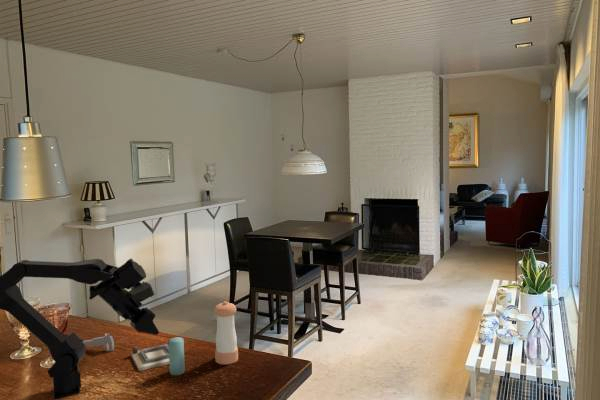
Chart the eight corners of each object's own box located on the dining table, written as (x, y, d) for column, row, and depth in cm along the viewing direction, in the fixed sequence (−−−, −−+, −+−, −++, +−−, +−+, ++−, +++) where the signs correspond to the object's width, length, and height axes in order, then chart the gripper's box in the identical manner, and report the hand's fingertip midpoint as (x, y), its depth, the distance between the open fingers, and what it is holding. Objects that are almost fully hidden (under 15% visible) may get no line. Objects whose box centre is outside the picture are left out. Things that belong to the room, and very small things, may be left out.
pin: (172, 376, 139) (170, 344, 138) (168, 370, 143) (166, 339, 142) (186, 372, 141) (185, 341, 140) (182, 367, 145) (181, 336, 144)
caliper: (114, 350, 158) (113, 332, 158) (112, 352, 157) (111, 334, 157) (61, 346, 162) (59, 329, 161) (58, 348, 161) (57, 330, 160)
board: (138, 371, 143) (138, 361, 142) (130, 355, 154) (130, 346, 154) (184, 360, 150) (183, 351, 149) (173, 345, 161) (172, 337, 161)
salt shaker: (222, 366, 145) (220, 307, 143) (211, 358, 151) (209, 301, 149) (242, 359, 150) (241, 301, 148) (230, 352, 155) (229, 296, 153)
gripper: (150, 283, 128) (184, 317, 136) (126, 267, 142) (158, 298, 150) (119, 315, 123) (156, 348, 131) (97, 295, 137) (132, 326, 146)
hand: (151, 328), depth 140 cm, fingers open, 9 cm apart
